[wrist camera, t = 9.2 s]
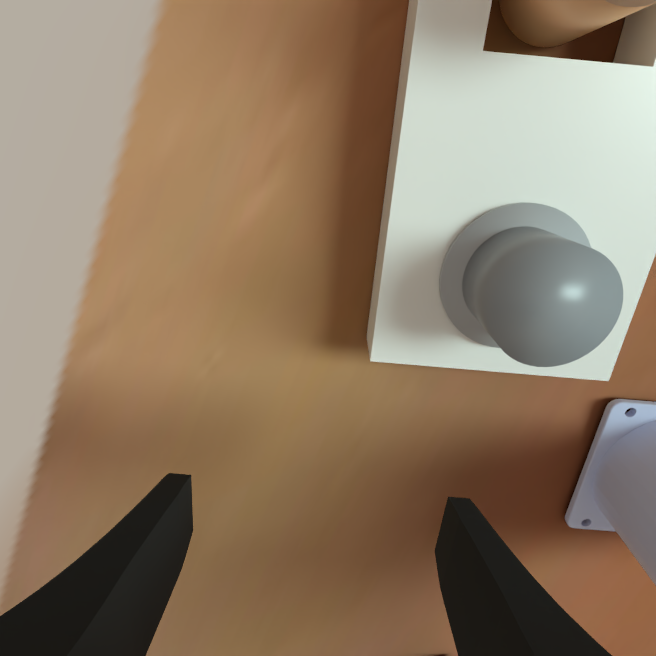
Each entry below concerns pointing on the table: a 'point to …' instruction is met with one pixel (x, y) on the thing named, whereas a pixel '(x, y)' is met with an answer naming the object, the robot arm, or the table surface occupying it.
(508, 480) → the table surface
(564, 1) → the tan round-topped peg
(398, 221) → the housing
